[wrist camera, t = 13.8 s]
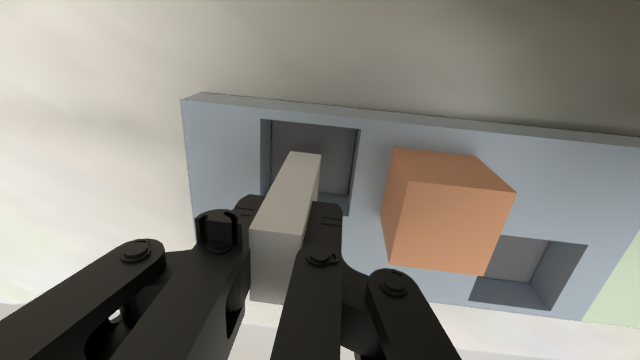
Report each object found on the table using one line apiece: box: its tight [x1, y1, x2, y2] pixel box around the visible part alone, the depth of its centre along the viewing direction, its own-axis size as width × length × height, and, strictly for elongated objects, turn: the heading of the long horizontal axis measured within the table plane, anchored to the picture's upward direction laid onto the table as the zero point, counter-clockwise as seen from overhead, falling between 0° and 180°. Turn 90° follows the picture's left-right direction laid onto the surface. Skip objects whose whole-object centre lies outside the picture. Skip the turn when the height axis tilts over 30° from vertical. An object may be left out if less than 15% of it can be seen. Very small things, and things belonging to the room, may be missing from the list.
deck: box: [180, 92, 640, 329], centre depth 16 cm, size 30×11×5 cm, turn 85°
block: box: [380, 147, 517, 276], centre depth 14 cm, size 4×4×4 cm
